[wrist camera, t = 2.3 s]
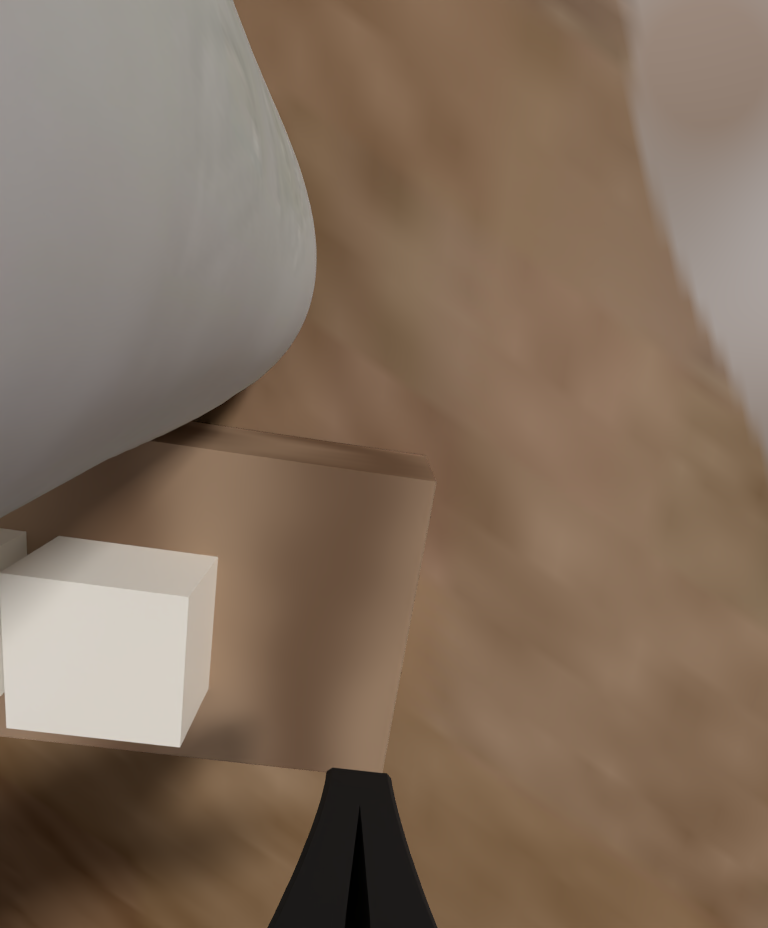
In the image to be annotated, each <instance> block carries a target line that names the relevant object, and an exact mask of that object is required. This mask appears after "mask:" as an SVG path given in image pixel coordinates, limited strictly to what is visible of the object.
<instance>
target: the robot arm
mask: <svg viewBox="0 0 768 928" xmlns="http://www.w3.org/2000/svg"><path fill="white" fill-rule="evenodd" d="M268 928H437V926H436V923H435V921H434V918H433V916H432V913H431V910H430V908H429V905H428V903H427V900H426V897H425V894H424V892H423V889H422V886H421V883H420V880H419V877H418V875H417V872H416V869H415V866H414V863H413V860H412V857H411V854H410V851H409V848H408V845H407V841H406V838H405V835H404V831H403V828H402V824H401V821H400V817H399V813H398V809H397V805H396V801H395V797H394V792H393V787H392V782H391V778H390V777H389V775H388V774H387V773H378V772H369V771H360V770H351V769H342V768H331V769H329V770H328V771H327V773H326V780H325V785H324V789H323V793H322V797H321V801H320V804H319V807H318V810H317V813H316V816H315V819H314V822H313V825H312V828H311V831H310V833H309V836H308V838H307V841H306V843H305V846H304V848H303V851H302V853H301V856H300V858H299V861H298V863H297V866H296V868H295V870H294V873H293V875H292V877H291V879H290V881H289V884H288V886H287V888H286V890H285V892H284V894H283V896H282V899H281V901H280V903H279V905H278V907H277V909H276V912H275V914H274V916H273V918H272V920H271V922H270V924H269V926H268Z"/></svg>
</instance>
